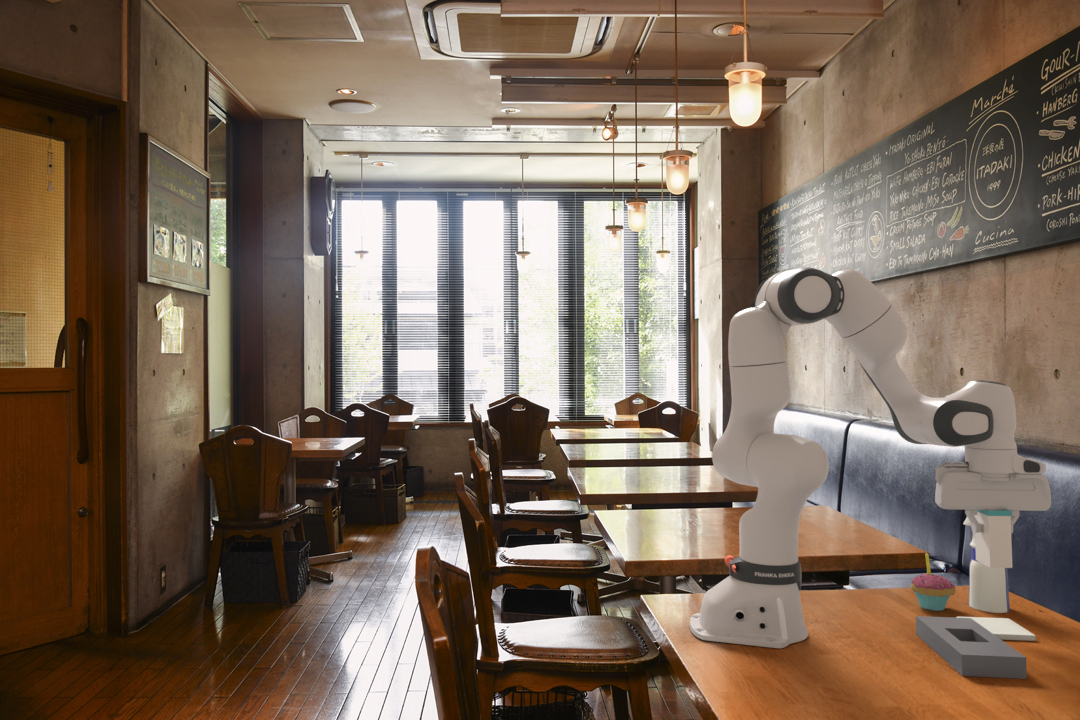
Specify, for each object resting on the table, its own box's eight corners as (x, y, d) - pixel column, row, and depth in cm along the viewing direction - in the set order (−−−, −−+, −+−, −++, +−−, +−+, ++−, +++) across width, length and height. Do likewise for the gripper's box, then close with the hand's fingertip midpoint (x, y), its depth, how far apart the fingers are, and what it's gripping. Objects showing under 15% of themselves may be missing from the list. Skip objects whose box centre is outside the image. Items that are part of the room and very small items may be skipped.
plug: (990, 567, 140) (988, 510, 141) (975, 559, 146) (973, 505, 147) (1012, 568, 140) (1010, 510, 140) (997, 560, 146) (995, 505, 146)
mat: (979, 638, 138) (979, 633, 138) (956, 621, 148) (956, 616, 148) (1035, 640, 137) (1035, 635, 137) (1008, 623, 147) (1008, 618, 147)
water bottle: (968, 598, 164) (966, 487, 164) (1013, 606, 158) (1011, 491, 159) (961, 607, 157) (959, 492, 158) (1008, 615, 152) (1006, 495, 153)
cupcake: (902, 602, 161) (901, 548, 161) (938, 600, 162) (937, 546, 162) (927, 614, 153) (926, 557, 153) (964, 613, 154) (963, 556, 154)
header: (962, 675, 121) (961, 654, 121) (916, 634, 141) (915, 616, 141) (1026, 678, 120) (1026, 657, 120) (971, 636, 140) (970, 618, 140)
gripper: (941, 463, 142) (943, 534, 142) (1054, 464, 139) (1056, 537, 139) (928, 460, 148) (930, 528, 148) (1036, 460, 145) (1038, 530, 145)
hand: (992, 532), depth 143 cm, fingers closed on plug, 4 cm apart
